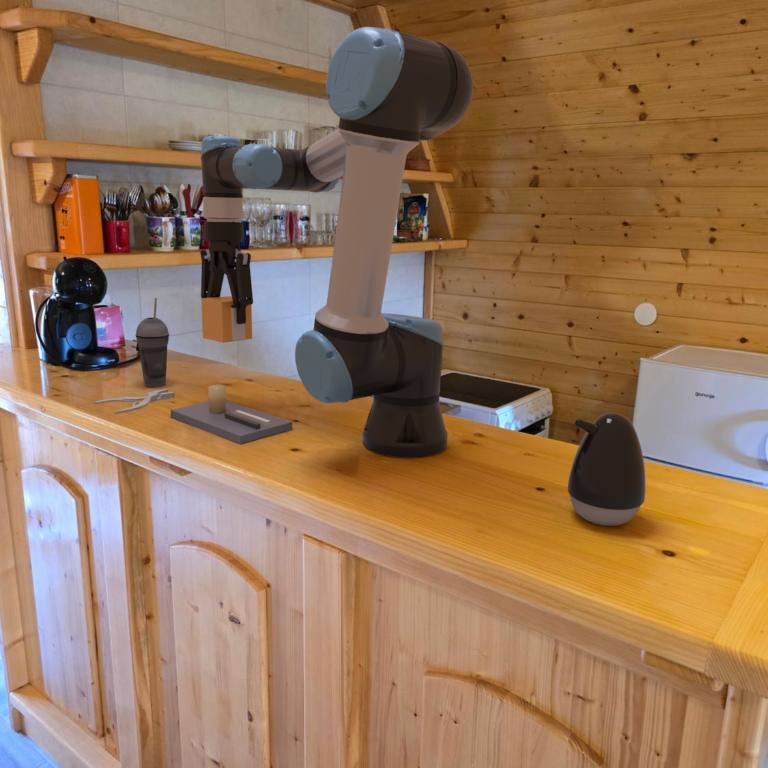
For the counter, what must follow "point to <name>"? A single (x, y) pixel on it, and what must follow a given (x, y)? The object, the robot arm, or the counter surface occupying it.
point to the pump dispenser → (608, 471)
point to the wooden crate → (221, 319)
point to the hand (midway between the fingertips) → (227, 337)
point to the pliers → (146, 400)
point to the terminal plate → (230, 418)
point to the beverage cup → (153, 349)
